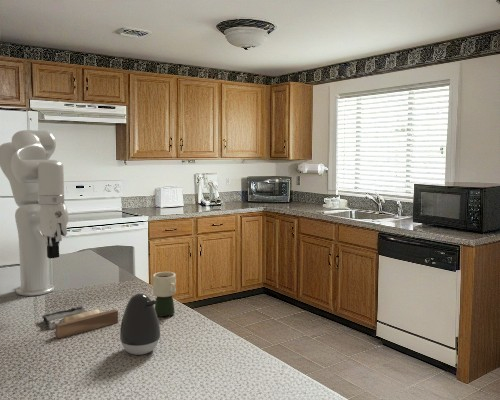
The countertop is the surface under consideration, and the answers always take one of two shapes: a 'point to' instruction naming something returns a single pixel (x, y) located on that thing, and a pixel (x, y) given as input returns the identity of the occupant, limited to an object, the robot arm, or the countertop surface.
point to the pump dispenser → (139, 325)
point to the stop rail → (86, 323)
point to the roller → (81, 315)
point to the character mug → (164, 292)
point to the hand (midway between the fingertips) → (53, 257)
